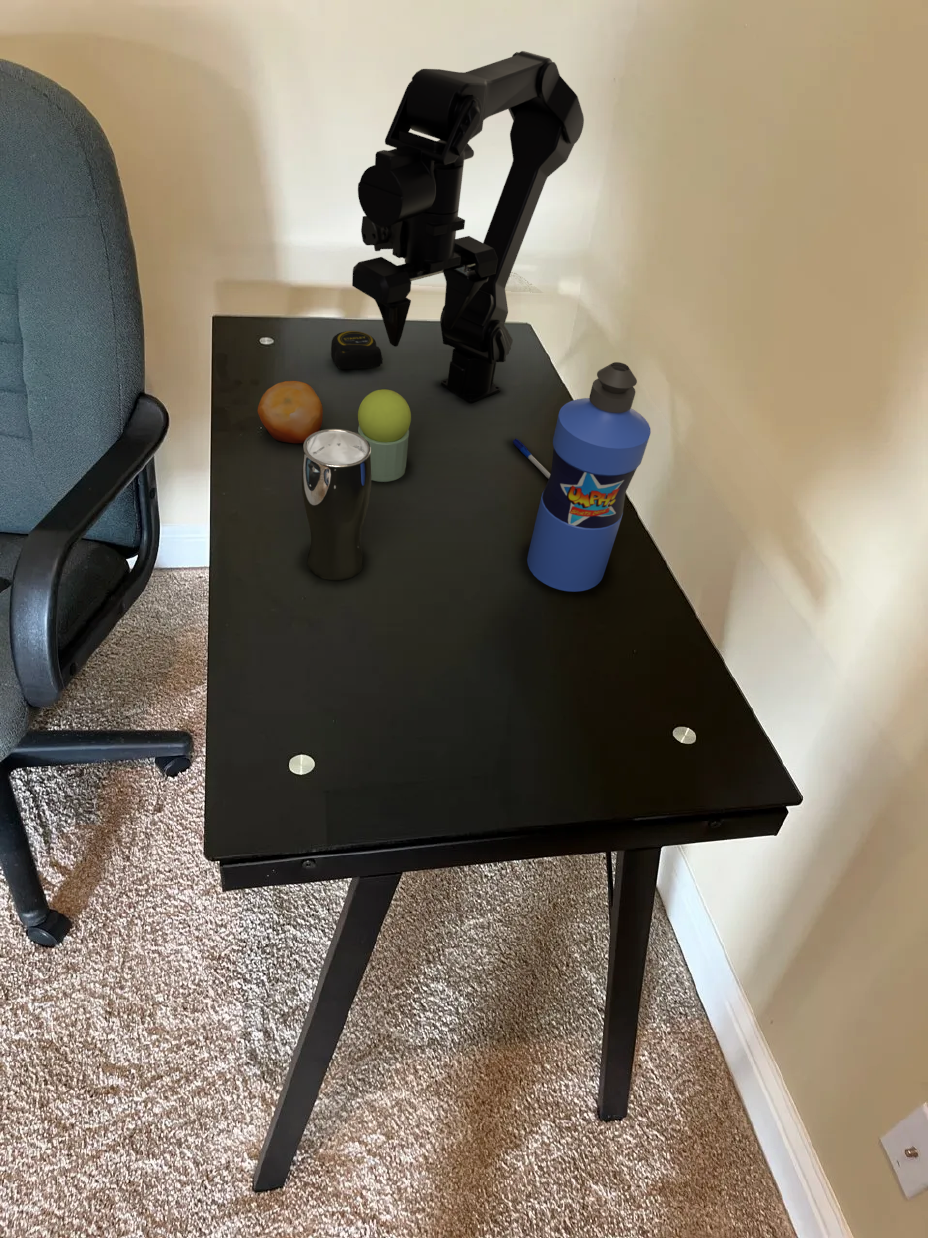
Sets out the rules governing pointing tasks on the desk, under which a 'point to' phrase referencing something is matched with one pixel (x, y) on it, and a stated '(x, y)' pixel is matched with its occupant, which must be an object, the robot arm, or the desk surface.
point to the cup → (387, 458)
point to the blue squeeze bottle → (588, 482)
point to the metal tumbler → (336, 500)
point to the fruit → (291, 411)
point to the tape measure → (355, 350)
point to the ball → (384, 416)
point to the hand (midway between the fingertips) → (421, 336)
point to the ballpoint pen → (530, 457)
